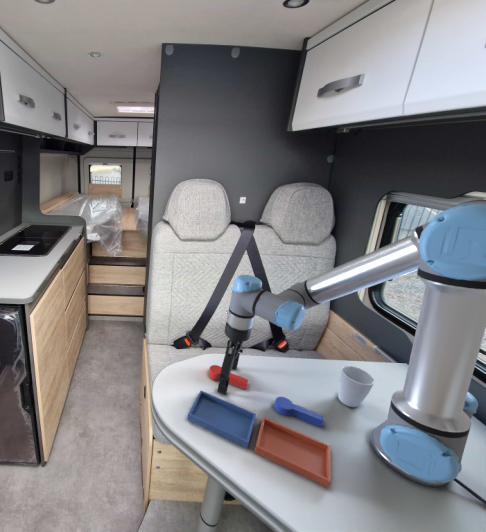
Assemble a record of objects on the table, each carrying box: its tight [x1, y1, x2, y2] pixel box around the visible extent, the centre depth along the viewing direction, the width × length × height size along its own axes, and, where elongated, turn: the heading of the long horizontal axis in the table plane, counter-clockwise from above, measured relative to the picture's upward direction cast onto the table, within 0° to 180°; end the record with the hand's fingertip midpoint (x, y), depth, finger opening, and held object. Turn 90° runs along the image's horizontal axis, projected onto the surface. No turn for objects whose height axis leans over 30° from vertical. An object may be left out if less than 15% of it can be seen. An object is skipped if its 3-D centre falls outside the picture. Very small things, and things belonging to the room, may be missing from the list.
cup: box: [337, 365, 376, 408], centre depth 93 cm, size 8×8×10 cm
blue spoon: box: [273, 396, 325, 428], centre depth 89 cm, size 12×5×2 cm, turn 59°
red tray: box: [254, 416, 332, 489], centre depth 78 cm, size 16×11×2 cm, turn 59°
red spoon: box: [208, 364, 249, 390], centre depth 101 cm, size 12×5×2 cm, turn 59°
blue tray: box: [186, 390, 257, 449], centre depth 86 cm, size 16×11×2 cm, turn 59°
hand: (227, 379), depth 101 cm, fingers open, 13 cm apart
